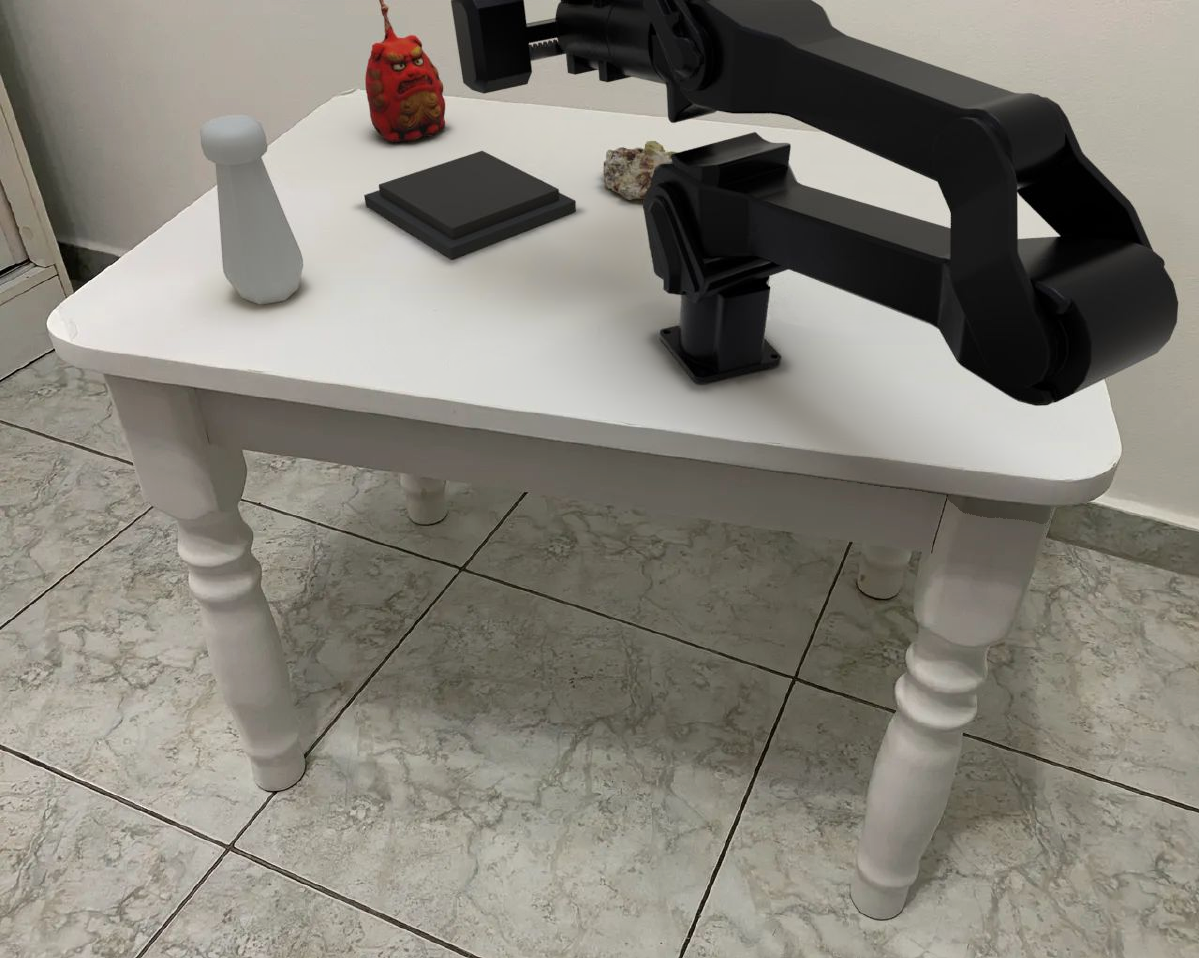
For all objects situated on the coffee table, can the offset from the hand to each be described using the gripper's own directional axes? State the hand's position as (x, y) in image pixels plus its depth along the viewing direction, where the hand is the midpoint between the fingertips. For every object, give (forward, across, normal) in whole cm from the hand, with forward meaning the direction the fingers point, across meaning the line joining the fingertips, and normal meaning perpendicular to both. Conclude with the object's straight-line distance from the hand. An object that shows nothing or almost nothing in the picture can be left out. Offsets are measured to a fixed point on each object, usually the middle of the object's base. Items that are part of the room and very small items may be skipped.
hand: (527, 11), depth 76 cm
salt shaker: (+2, +24, +16) cm, 29 cm away
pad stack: (+6, +4, +16) cm, 17 cm away
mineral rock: (+1, -12, +16) cm, 20 cm away
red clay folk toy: (+25, +2, +13) cm, 28 cm away
